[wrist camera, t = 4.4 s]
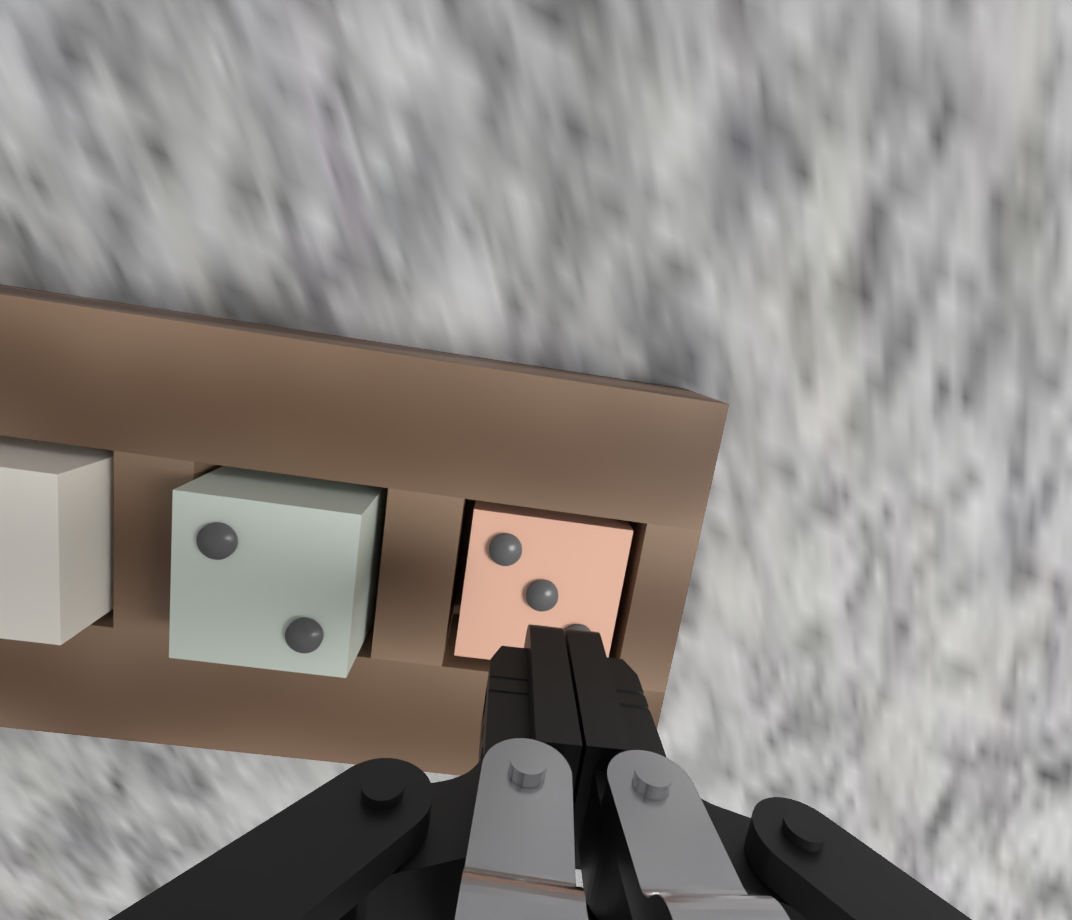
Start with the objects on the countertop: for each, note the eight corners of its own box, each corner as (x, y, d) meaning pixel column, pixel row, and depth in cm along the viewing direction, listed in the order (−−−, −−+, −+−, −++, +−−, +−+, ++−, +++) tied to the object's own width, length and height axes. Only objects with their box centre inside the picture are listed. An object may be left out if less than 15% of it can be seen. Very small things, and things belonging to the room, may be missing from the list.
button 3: (480, 481, 19) (473, 510, 16) (615, 499, 19) (634, 532, 16) (463, 606, 20) (453, 658, 17) (592, 623, 20) (605, 676, 17)
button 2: (232, 461, 17) (169, 491, 14) (387, 483, 17) (359, 516, 14) (225, 603, 18) (165, 661, 15) (373, 621, 18) (344, 681, 15)
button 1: (-27, 426, 16) (-152, 448, 13) (138, 448, 17) (52, 476, 14) (-20, 573, 17) (-135, 626, 14) (136, 592, 18) (56, 648, 15)
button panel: (-22, 281, 18) (-171, 268, 14) (686, 388, 19) (728, 404, 15) (-5, 639, 20) (-128, 713, 17) (619, 711, 22) (642, 794, 18)
